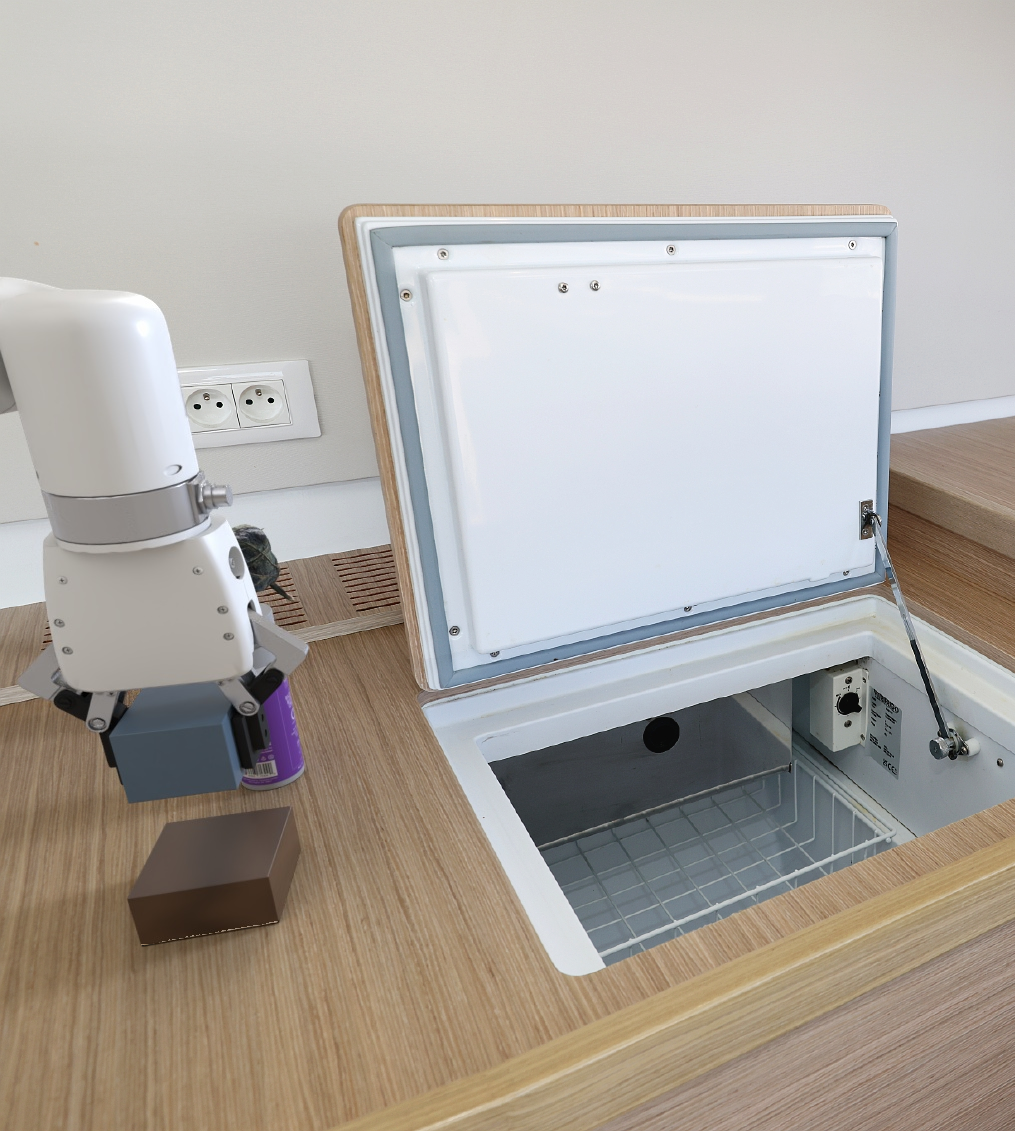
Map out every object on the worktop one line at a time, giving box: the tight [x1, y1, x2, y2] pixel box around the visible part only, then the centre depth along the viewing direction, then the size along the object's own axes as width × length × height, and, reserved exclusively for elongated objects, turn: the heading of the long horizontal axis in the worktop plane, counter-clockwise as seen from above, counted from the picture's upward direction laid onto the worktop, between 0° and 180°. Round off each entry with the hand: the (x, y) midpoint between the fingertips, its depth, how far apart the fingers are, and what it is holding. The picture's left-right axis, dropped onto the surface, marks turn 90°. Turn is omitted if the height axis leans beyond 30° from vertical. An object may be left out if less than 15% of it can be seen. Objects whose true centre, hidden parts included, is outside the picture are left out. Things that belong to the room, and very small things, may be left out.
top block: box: [109, 682, 245, 804], centre depth 62 cm, size 6×6×5 cm
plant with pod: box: [199, 467, 295, 603], centre depth 99 cm, size 8×11×20 cm
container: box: [240, 602, 306, 791], centre depth 77 cm, size 5×5×15 cm
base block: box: [126, 805, 302, 945], centre depth 66 cm, size 8×8×4 cm
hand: (195, 763), depth 62 cm, fingers closed on top block, 6 cm apart
